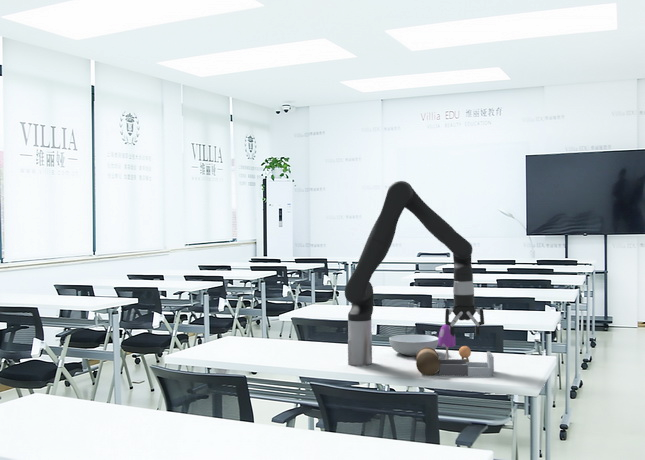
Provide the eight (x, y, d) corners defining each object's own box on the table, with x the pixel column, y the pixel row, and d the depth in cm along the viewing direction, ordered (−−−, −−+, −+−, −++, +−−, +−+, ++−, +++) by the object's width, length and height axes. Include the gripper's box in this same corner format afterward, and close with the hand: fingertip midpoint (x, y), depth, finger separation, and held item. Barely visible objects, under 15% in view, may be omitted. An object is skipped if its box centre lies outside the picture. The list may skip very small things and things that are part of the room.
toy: (455, 363, 248) (455, 325, 248) (438, 363, 249) (437, 325, 249) (455, 360, 255) (455, 322, 255) (438, 360, 256) (438, 322, 256)
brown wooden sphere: (440, 375, 228) (439, 352, 228) (416, 375, 229) (415, 352, 229) (438, 369, 238) (438, 347, 238) (416, 369, 239) (415, 347, 239)
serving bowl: (446, 352, 273) (446, 336, 273) (427, 360, 255) (426, 343, 255) (402, 348, 284) (402, 332, 284) (380, 356, 266) (380, 339, 266)
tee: (461, 369, 238) (461, 358, 238) (460, 367, 241) (460, 356, 241) (469, 369, 237) (469, 358, 238) (468, 367, 240) (468, 356, 240)
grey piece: (439, 375, 228) (439, 356, 228) (438, 369, 238) (438, 351, 238) (493, 376, 226) (493, 356, 226) (490, 370, 235) (490, 351, 235)
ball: (459, 358, 237) (459, 347, 237) (458, 356, 242) (458, 345, 242) (471, 359, 237) (471, 347, 237) (470, 356, 241) (470, 345, 241)
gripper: (444, 294, 236) (446, 337, 236) (484, 293, 234) (485, 337, 234) (444, 292, 244) (445, 334, 244) (482, 291, 242) (483, 334, 242)
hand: (464, 336), depth 239 cm, fingers open, 8 cm apart
